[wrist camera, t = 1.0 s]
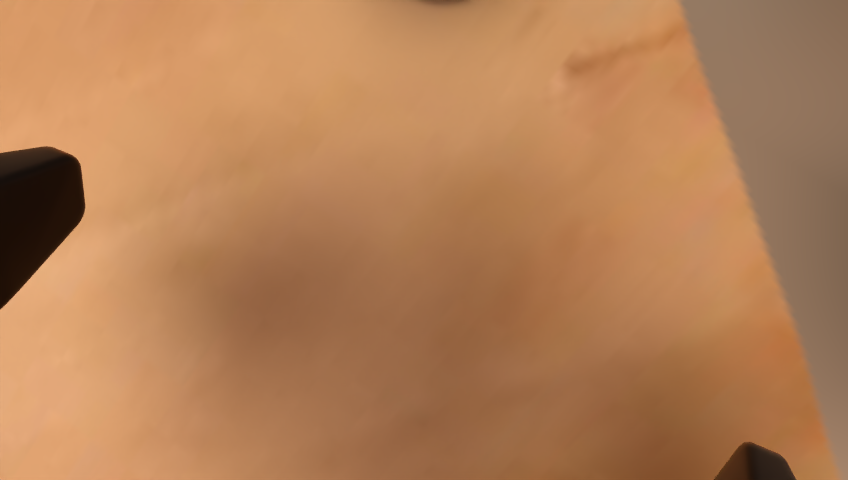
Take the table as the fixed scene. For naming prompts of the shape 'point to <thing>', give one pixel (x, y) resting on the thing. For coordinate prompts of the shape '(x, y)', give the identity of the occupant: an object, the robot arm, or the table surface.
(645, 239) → the table surface
